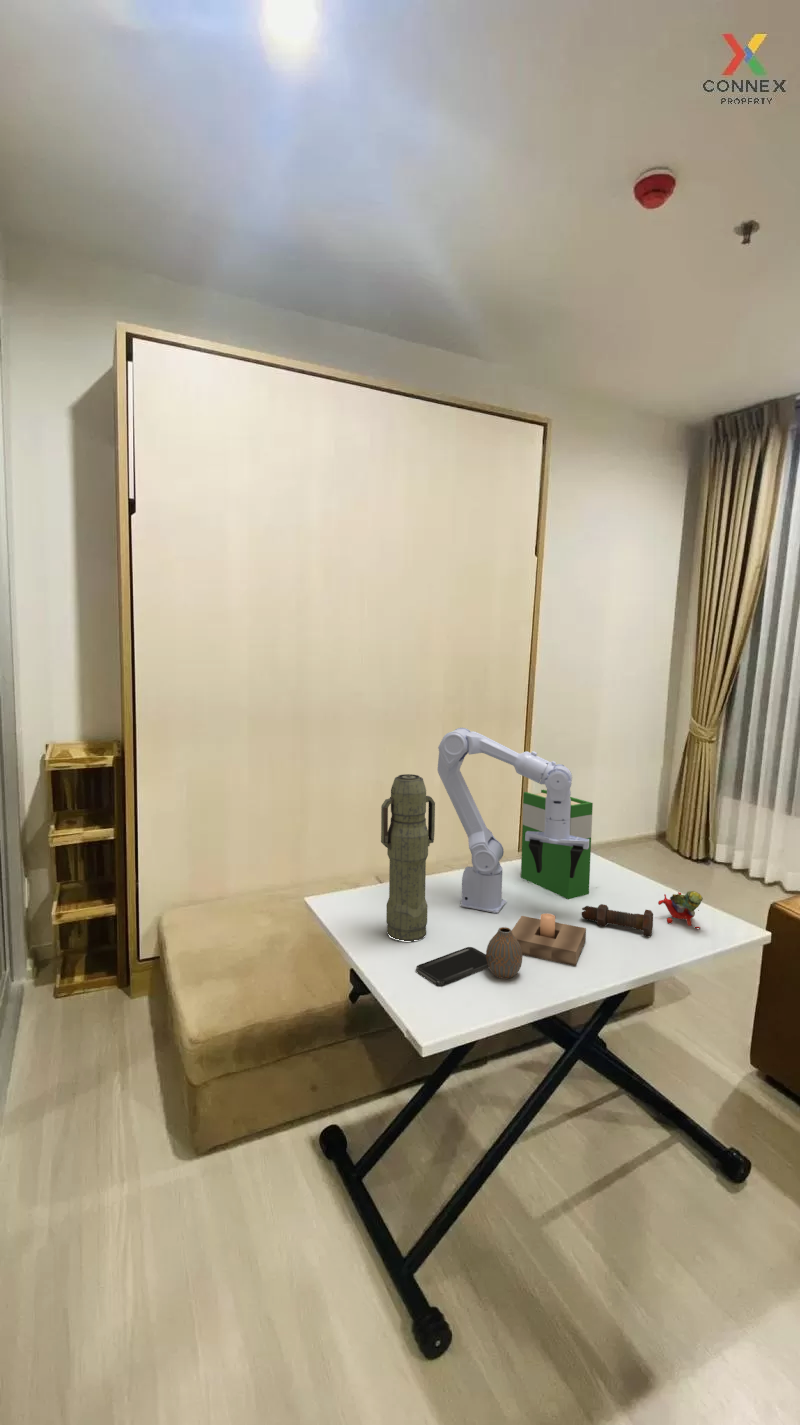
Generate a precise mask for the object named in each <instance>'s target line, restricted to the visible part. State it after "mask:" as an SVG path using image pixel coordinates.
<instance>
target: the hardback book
mask: <svg viewBox="0 0 800 1425" xmlns="http://www.w3.org/2000/svg"><path fill="white" fill-rule="evenodd" d="M522 796H523V798H522V828H521V829H522V832H521V835H522V836H521V862H520V863H521V864H520V878H521V879H523V880H525V881H528V882H529V883H532V884H534V885H536V886H539V887H540V888H543V889H545V890H546V891H549V892H551V893H554V894H556V895H558V896H559V897H561V898H563V899H566V900H572V899H575V898H580V897H584V896H587V895H589V894H590V874H591V855H592V854H591V850H592V827H593V804H594V803H593V802H591V801H586V800H583V799H580V798H576V797H572V796H570V799H571V810H570V835H572V836H576V837H580V838H585V839H589V848H588V849H584V850H583V852H582V854H581V856H580V858H579V860H578V863H577V866H576V869H575V875H574V877H573V878H570V867H571V854H570V850H571V849H572V848H573V846H566V845H559V844H551V843H544V842H543V848H542V870H541V872H540V873H537V869H536V864H535V860H534V857H533V855H532V852H531V850H530V849H529V842H530V841H525V833H526V832H527V831H534V832H545V804H546V797H547V789H541V790H540V793H539V792H538V793H531V792H528V791H524V792H523V794H522Z"/></svg>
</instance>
